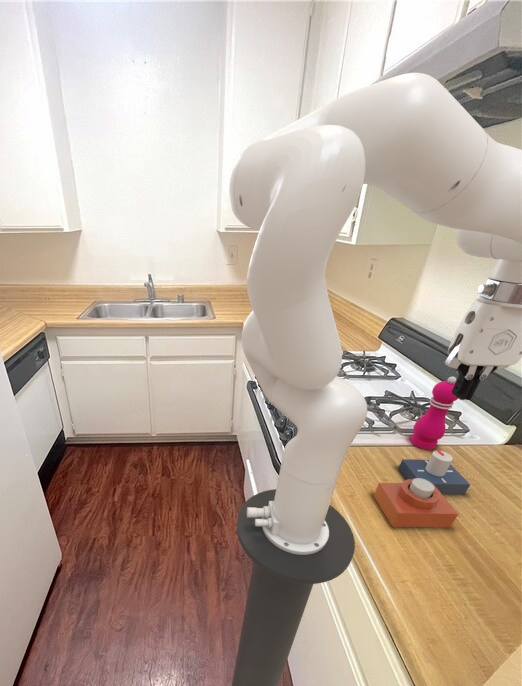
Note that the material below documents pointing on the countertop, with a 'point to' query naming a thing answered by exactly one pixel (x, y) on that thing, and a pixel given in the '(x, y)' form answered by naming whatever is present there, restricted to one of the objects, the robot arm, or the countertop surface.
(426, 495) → the push button
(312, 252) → the robot arm
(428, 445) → the pepper mill
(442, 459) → the grey dial knob
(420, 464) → the tap panel
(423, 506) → the orange button housing
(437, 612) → the countertop surface
